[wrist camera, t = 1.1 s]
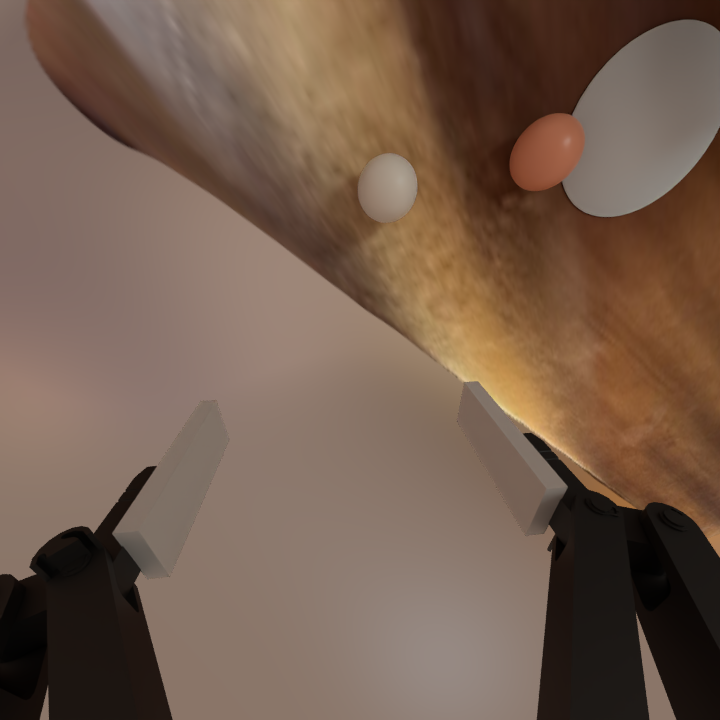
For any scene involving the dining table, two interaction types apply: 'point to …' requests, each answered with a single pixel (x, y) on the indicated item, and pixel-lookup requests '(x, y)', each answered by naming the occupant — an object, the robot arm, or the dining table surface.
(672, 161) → the oval plate
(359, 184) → the ivory ball
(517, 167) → the coral ball
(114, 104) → the dining table surface
